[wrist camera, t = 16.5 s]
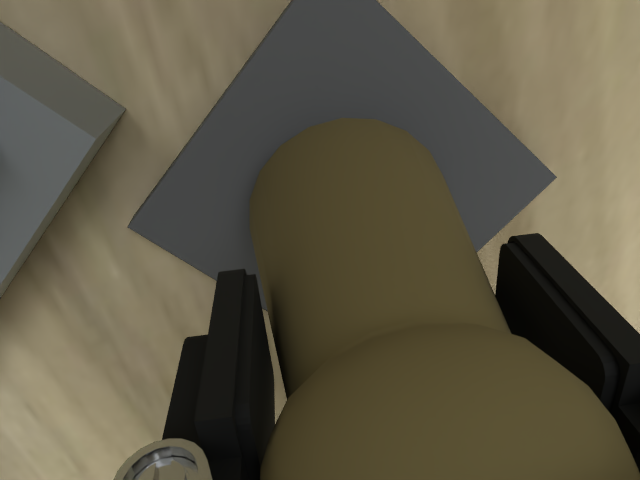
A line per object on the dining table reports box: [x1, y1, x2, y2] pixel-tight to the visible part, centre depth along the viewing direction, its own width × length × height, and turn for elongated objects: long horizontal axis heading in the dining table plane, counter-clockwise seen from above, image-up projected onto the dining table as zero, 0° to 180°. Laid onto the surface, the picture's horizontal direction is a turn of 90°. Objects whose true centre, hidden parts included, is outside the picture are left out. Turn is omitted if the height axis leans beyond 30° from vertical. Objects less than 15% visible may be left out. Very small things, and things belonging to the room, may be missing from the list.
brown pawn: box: [250, 118, 640, 480], centre depth 10 cm, size 6×6×11 cm
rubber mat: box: [128, 0, 557, 311], centre depth 17 cm, size 10×10×1 cm
